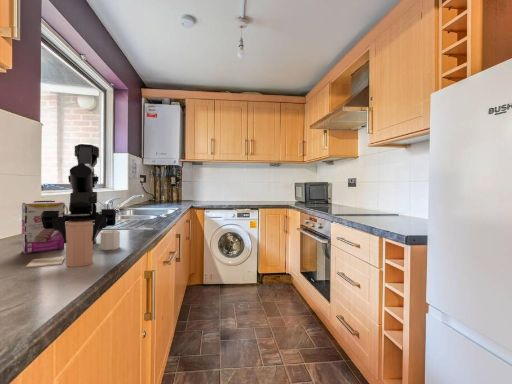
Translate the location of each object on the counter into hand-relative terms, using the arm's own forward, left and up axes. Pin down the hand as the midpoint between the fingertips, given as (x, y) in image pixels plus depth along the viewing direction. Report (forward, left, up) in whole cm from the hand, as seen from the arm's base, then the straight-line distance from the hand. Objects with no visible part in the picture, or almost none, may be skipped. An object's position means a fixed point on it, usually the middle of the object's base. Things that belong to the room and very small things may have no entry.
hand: (79, 241), depth 81 cm
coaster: (-6, -8, -7) cm, 13 cm away
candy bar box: (-24, -12, -7) cm, 28 cm away
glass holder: (-53, -14, -7) cm, 56 cm away
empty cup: (-19, +8, -7) cm, 22 cm away
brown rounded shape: (-1, 0, -7) cm, 7 cm away
